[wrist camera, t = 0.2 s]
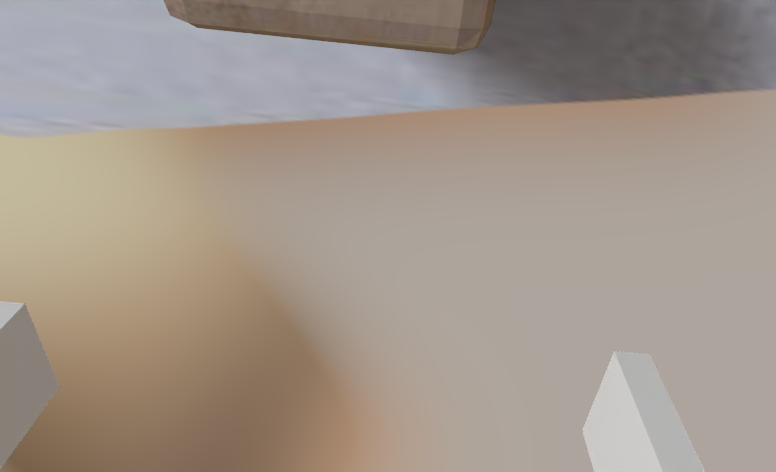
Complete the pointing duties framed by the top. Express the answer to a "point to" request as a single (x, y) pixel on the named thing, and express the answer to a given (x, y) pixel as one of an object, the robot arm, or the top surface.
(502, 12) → the top surface
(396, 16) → the wooden block
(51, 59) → the top surface
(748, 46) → the top surface
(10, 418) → the robot arm
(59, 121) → the top surface
